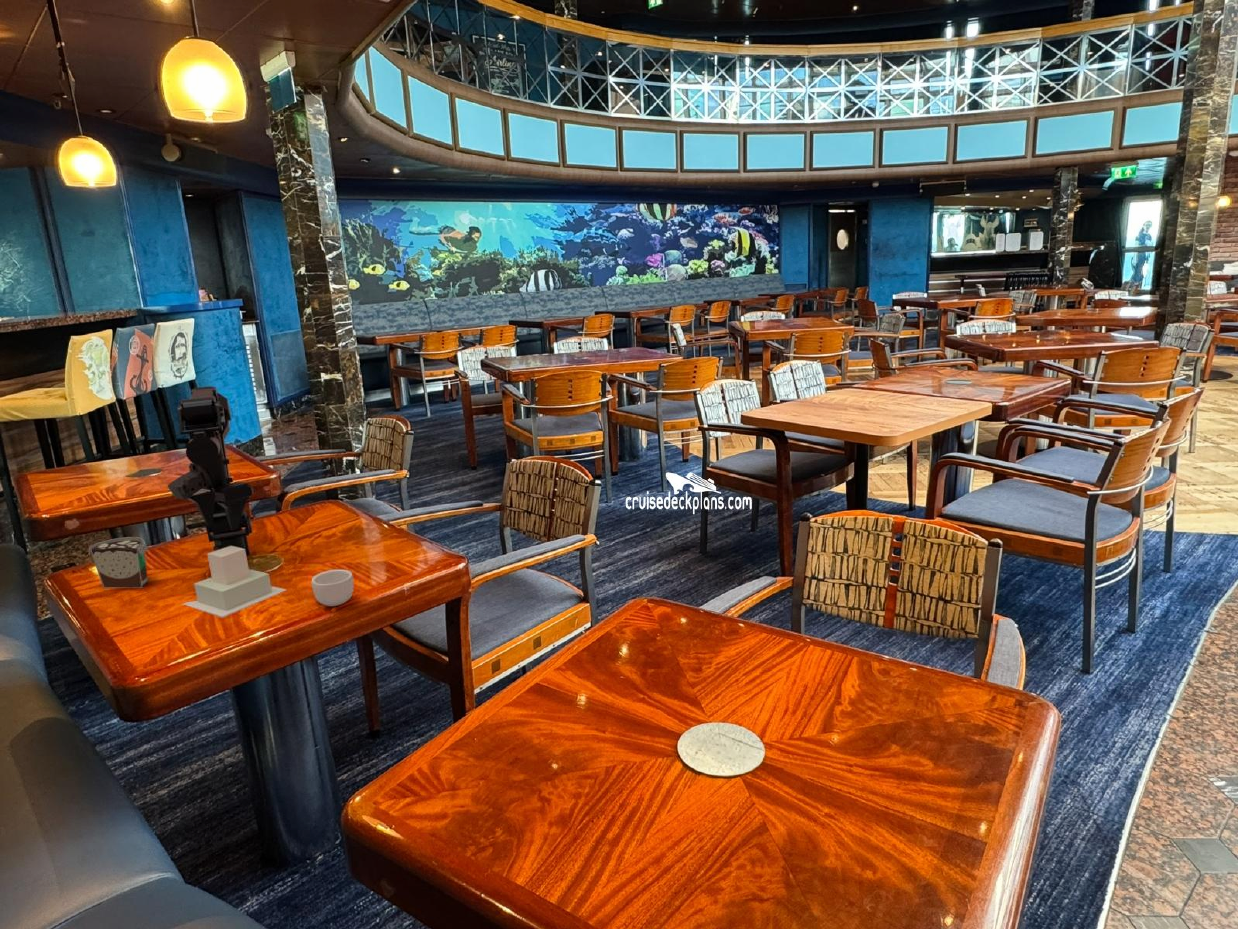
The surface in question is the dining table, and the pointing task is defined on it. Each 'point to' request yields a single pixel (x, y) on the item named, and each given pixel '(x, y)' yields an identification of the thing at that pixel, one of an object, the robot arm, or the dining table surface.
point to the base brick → (233, 590)
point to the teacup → (333, 587)
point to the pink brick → (228, 565)
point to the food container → (121, 562)
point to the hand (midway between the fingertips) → (221, 526)
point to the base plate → (225, 613)
